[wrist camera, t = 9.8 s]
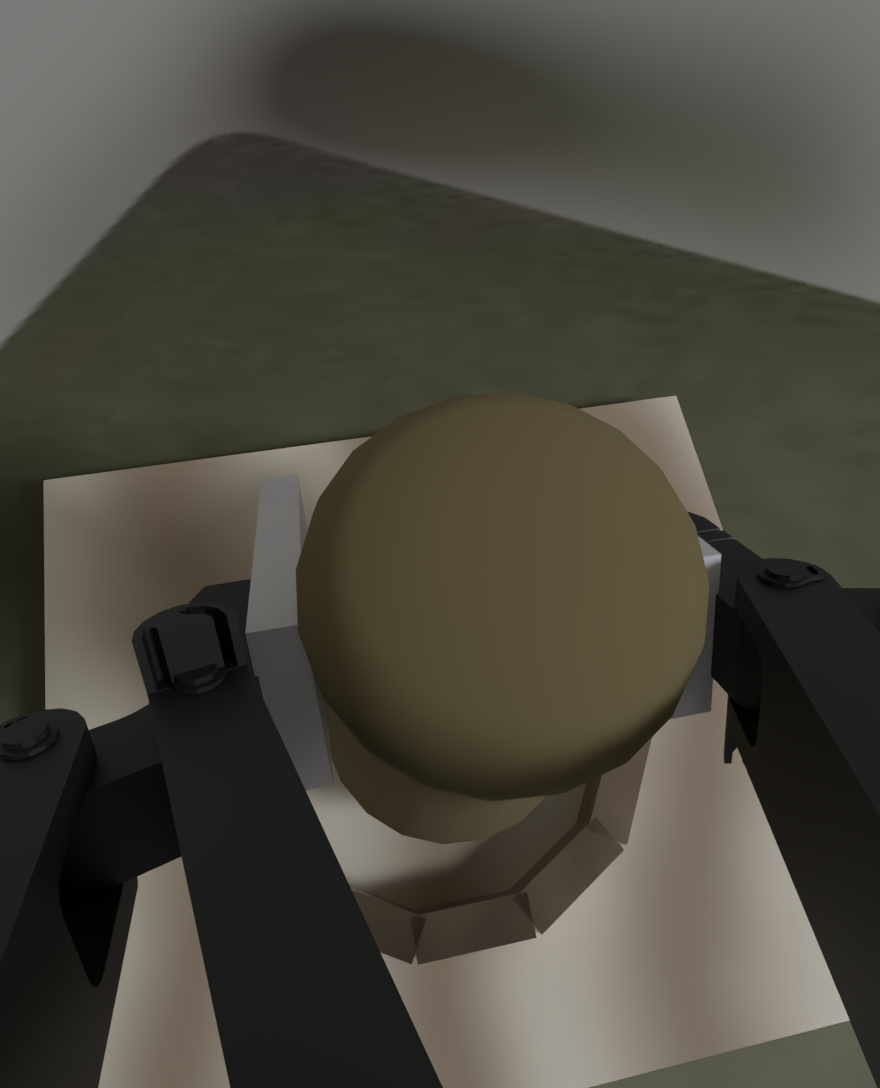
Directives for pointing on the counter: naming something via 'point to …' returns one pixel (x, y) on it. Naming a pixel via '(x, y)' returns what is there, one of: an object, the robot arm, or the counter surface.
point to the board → (457, 868)
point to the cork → (495, 610)
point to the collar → (518, 883)
